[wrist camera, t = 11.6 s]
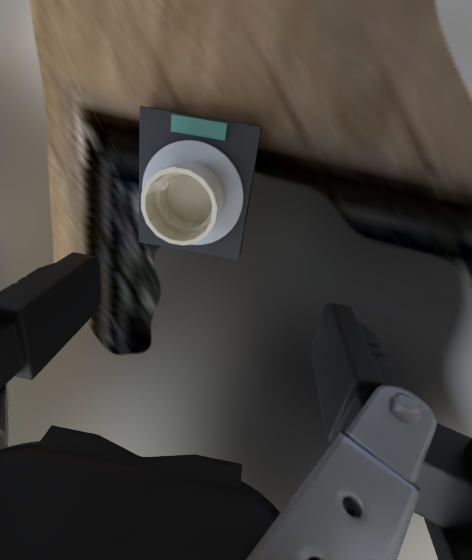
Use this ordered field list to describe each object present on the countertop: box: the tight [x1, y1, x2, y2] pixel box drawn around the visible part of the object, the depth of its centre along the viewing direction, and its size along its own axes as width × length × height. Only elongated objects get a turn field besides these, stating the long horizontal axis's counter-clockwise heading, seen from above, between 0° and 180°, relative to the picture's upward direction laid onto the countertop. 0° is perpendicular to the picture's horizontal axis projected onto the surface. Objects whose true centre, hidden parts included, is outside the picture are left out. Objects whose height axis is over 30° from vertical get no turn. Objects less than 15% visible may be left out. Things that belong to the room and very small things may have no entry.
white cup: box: [141, 162, 225, 246], centre depth 28 cm, size 6×6×5 cm
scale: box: [139, 106, 262, 260], centre depth 31 cm, size 13×11×3 cm
